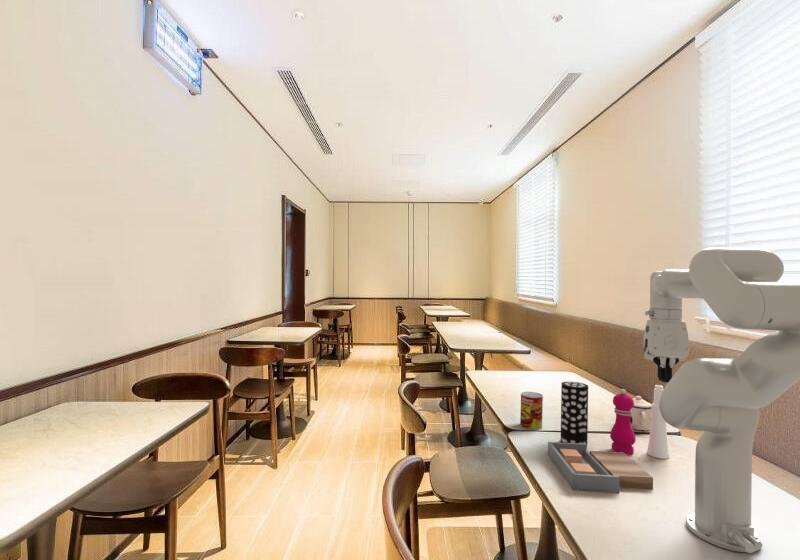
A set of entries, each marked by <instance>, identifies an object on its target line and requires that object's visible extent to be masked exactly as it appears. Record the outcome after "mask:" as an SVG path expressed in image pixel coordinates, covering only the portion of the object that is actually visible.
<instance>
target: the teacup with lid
mask: <svg viewBox="0 0 800 560" xmlns="http://www.w3.org/2000/svg"><path fill="white" fill-rule="evenodd" d="M632 399H633V401H634V406H633V408H631V410H632V415H630V424H631V427H632V430H635V429H636V430H637V431H641V430H644V431H643V432H647V430H648V431H650V426H651V411H652V403H650V402H648V401H646V400H645V399H643V398H642V396H641V395H636V396H635V397H634V398H633V397H632Z"/></svg>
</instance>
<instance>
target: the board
mask: <svg viewBox="0 0 800 560" xmlns="http://www.w3.org/2000/svg"><path fill="white" fill-rule="evenodd" d="M589 453H590V454H591V455H592V456H593V457H594V458H595V459H596V460H597V461H598V462H599V463H600V464H601V465H602V466H603V467H604V468H605V469H606V470H607V471H608V472H609V473H610V474H611V475H615V476H619V477H620V478H619V488H627V489H629V488H631V489H645V490H647V489H648V490H653V489H654V477H653V476H652V475H651V474H650V473H649V472H648V471H646V470H645V469H644V468H643V467H641V466H640V465H639V464H638V463H637V462H635V460H633V459H632V458H630V456H629V455H626V454H625V453H624V452H615V451H601V450H599V451H597V450H589Z"/></svg>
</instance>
